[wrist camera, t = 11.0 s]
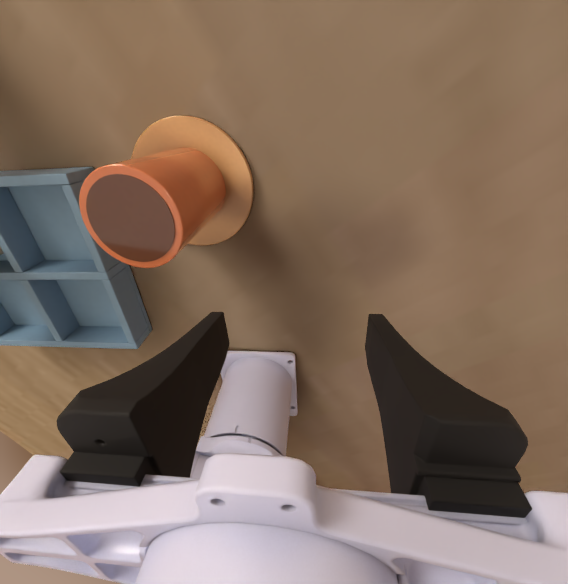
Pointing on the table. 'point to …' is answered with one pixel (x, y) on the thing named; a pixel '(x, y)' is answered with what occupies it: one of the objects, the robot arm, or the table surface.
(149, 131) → the coaster
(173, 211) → the tumbler
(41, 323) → the rack
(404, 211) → the table surface
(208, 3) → the table surface
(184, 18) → the table surface
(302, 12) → the table surface
